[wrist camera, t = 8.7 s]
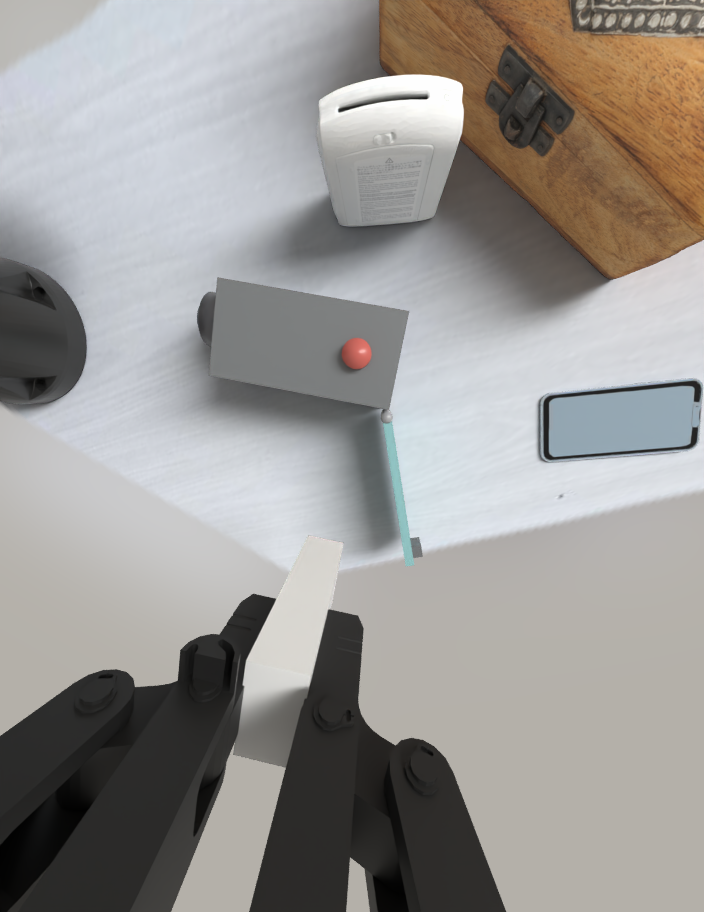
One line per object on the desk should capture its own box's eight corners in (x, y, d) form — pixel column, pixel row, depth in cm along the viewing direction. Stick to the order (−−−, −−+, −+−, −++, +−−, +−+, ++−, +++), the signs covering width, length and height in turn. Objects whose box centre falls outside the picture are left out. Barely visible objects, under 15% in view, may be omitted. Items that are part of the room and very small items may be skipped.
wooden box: (367, 74, 31) (357, -171, 17) (502, -119, 28) (619, -608, 14) (595, 299, 33) (744, 238, 19) (747, 146, 30) (1055, -58, 16)
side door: (418, 539, 38) (425, 566, 32) (401, 541, 38) (405, 569, 33) (398, 406, 35) (401, 409, 30) (380, 409, 36) (380, 413, 30)
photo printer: (440, 172, 32) (475, 41, 20) (440, 222, 33) (474, 126, 21) (332, 183, 33) (303, 65, 21) (335, 232, 34) (308, 145, 22)
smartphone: (540, 393, 35) (704, 376, 33) (537, 393, 36) (695, 376, 34) (541, 463, 36) (698, 450, 34) (537, 461, 37) (690, 449, 35)
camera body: (222, 373, 37) (174, 369, 29) (229, 297, 36) (181, 268, 27) (387, 405, 37) (389, 410, 28) (402, 328, 35) (409, 308, 26)
